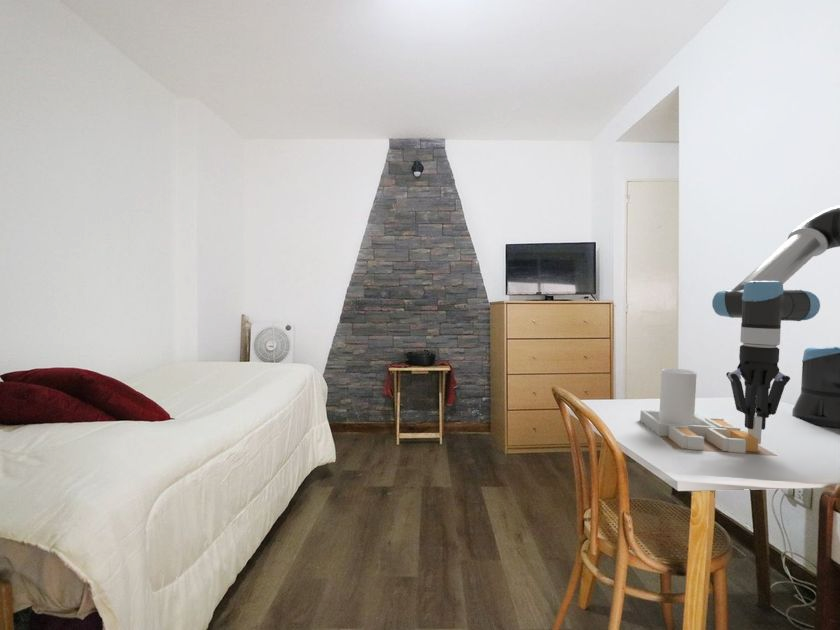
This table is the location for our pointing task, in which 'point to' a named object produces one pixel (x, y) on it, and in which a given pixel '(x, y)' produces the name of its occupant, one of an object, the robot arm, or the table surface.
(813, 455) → the table surface
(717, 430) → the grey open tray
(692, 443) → the side clips
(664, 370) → the cup
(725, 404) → the table surface
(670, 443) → the panel
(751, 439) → the block
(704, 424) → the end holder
